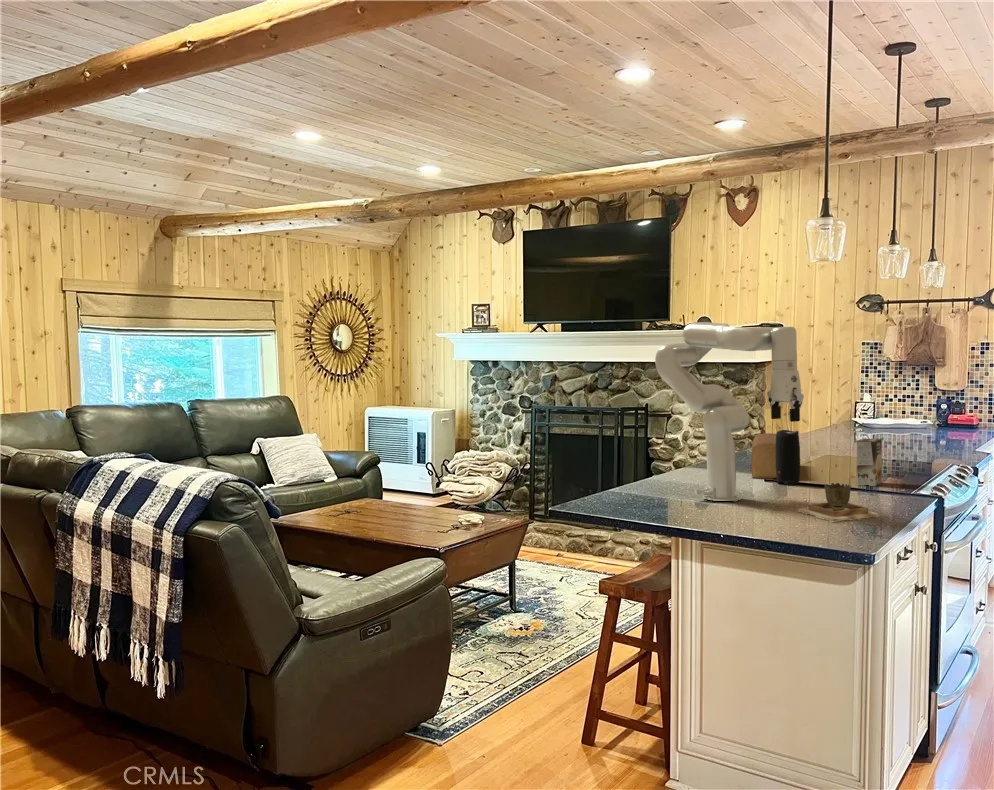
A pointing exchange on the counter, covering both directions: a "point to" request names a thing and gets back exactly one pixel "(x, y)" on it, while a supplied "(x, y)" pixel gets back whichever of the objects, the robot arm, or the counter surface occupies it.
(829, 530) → the counter surface
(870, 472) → the coffee box
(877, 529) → the counter surface
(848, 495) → the ornate lamp shade
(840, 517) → the square wooden tray
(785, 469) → the portable speaker
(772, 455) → the bread
